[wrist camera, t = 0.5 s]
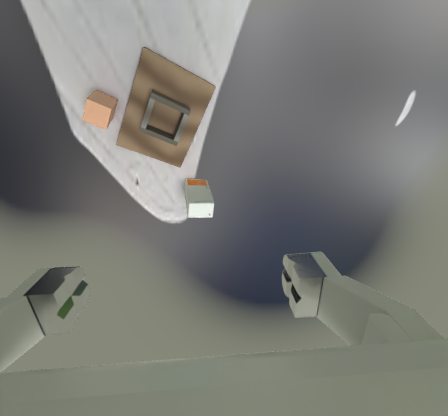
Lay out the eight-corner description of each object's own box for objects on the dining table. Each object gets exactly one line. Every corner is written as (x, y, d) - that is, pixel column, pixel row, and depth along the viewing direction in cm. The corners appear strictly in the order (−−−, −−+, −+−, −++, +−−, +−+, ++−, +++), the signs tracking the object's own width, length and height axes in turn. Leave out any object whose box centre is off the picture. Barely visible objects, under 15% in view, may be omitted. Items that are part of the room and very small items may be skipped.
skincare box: (207, 178, 63) (215, 203, 54) (205, 191, 66) (213, 218, 56) (184, 177, 62) (188, 203, 52) (183, 191, 64) (187, 218, 55)
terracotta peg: (96, 89, 46) (86, 98, 40) (117, 99, 48) (111, 109, 42) (92, 109, 48) (82, 120, 42) (113, 117, 50) (106, 129, 44)
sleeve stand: (144, 46, 44) (142, 48, 40) (214, 85, 50) (219, 90, 46) (117, 142, 53) (113, 150, 49) (180, 164, 59) (181, 174, 55)
